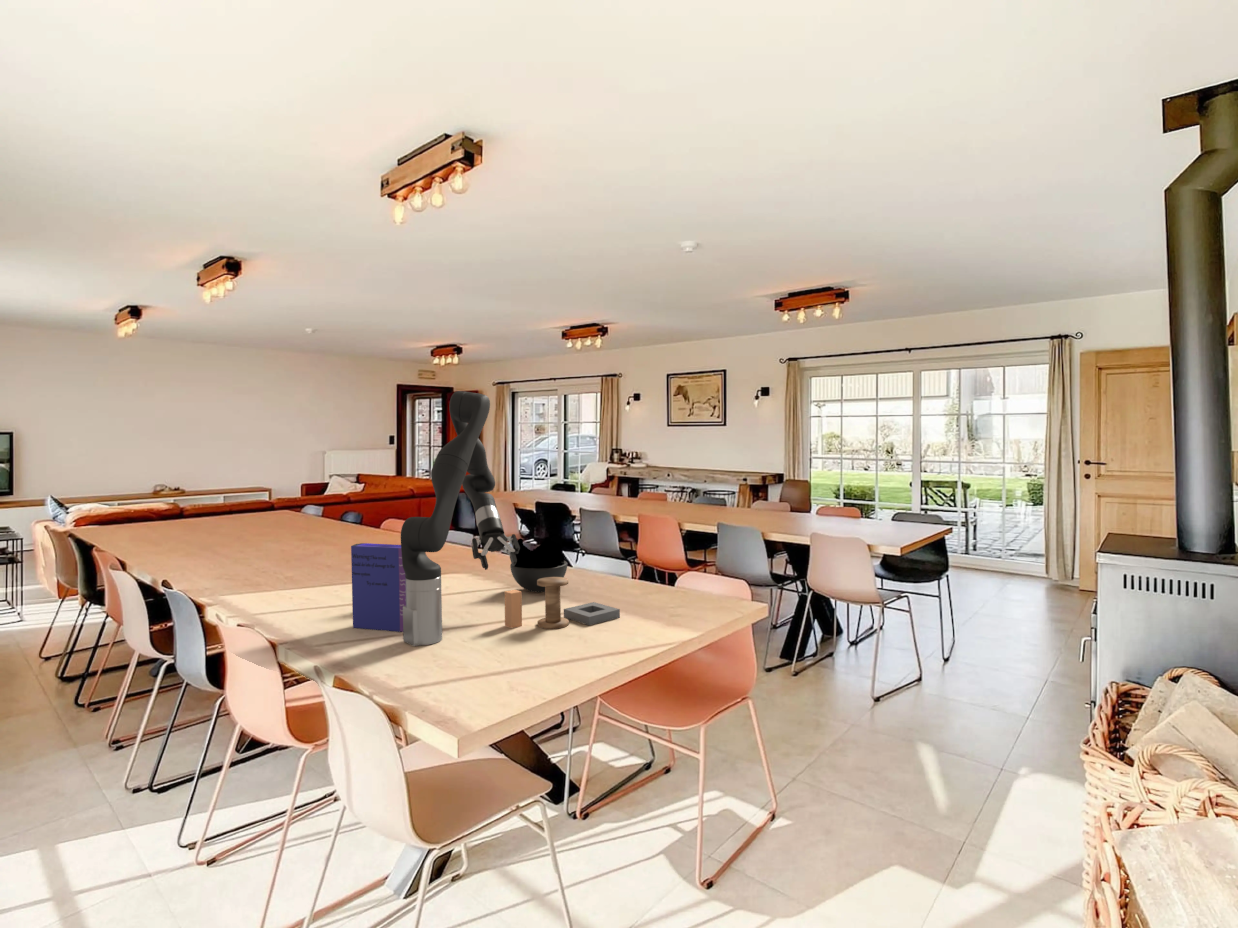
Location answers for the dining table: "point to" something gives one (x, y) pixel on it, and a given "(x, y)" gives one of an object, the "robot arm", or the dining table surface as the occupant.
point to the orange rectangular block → (513, 608)
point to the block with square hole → (591, 613)
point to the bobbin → (552, 603)
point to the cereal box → (378, 587)
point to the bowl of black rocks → (538, 564)
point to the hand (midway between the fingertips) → (500, 566)
